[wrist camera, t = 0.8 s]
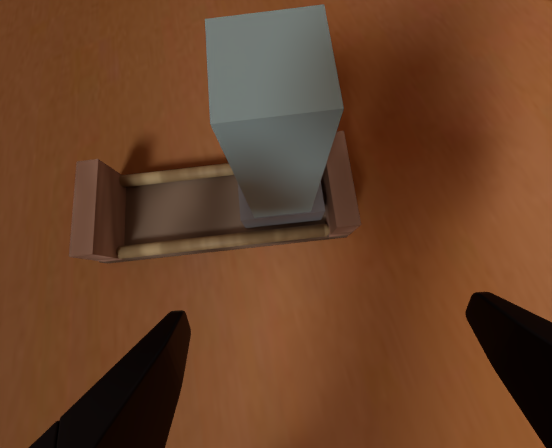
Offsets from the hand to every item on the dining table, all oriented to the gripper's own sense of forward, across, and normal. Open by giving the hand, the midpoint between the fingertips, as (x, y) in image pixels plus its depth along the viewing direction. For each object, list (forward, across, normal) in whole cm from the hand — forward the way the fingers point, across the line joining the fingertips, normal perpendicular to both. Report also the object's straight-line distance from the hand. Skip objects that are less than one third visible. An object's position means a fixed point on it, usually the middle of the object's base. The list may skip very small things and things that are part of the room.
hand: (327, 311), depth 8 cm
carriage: (+14, +1, +2) cm, 14 cm away
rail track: (+15, +6, +3) cm, 16 cm away
